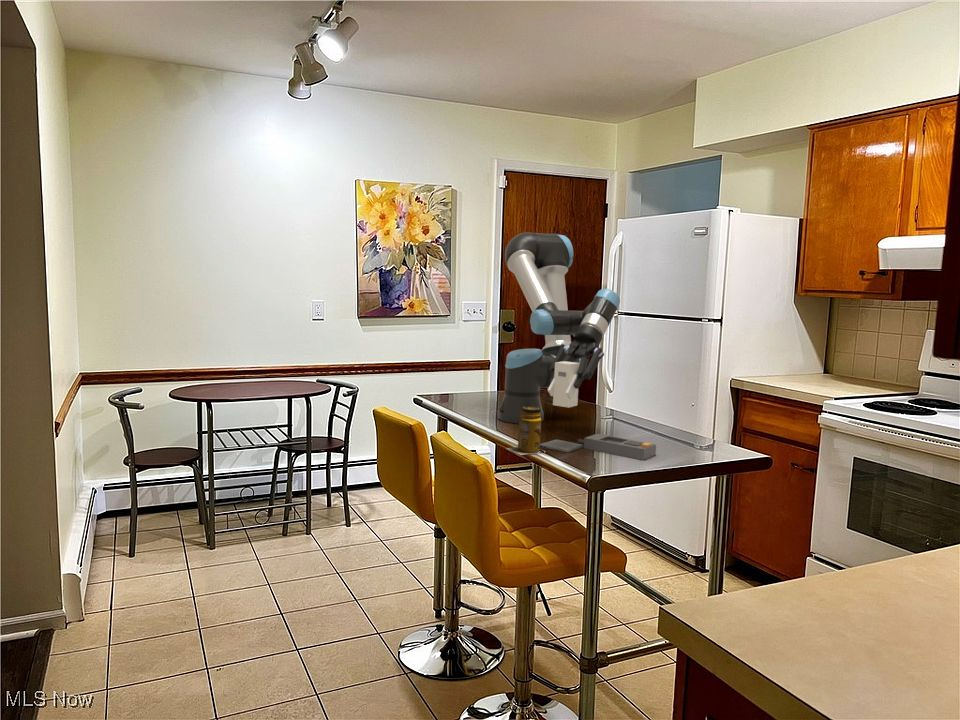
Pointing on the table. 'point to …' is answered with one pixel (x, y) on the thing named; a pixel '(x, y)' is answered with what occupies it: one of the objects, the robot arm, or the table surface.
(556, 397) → the block
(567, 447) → the mat
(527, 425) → the condiment
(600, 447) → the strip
